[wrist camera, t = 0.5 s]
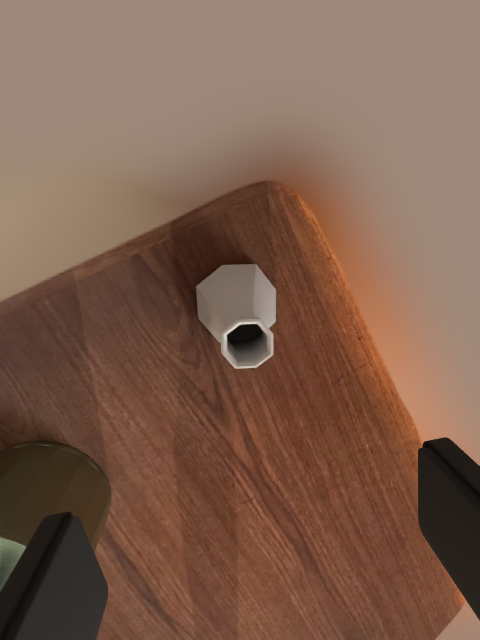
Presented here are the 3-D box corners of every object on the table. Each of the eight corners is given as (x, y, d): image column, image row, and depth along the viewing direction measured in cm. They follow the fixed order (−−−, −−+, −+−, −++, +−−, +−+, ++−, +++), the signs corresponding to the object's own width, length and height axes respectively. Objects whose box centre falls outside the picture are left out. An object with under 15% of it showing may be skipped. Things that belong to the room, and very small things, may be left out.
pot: (-44, 458, 31) (-153, 557, 21) (86, 428, 31) (31, 514, 22) (12, 552, 34) (-61, 670, 25) (127, 525, 34) (95, 634, 25)
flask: (182, 279, 27) (164, 309, 18) (262, 249, 27) (288, 264, 17) (213, 352, 29) (211, 415, 20) (287, 325, 29) (322, 375, 20)
